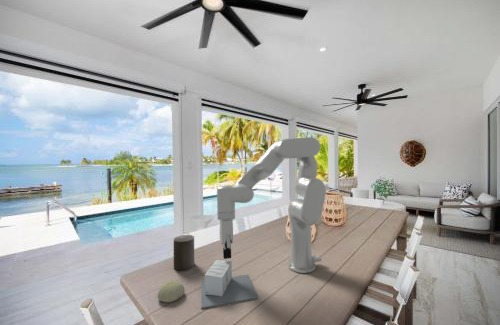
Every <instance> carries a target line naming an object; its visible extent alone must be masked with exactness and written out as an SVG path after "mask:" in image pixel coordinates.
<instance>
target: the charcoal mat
mask: <svg viewBox="0 0 500 325" xmlns="http://www.w3.org/2000/svg"><path fill="white" fill-rule="evenodd" d="M200 284H201V289H200V291H201V292H200V293H201V296H200V297H201V303H200V304H201V310H203V309H205V310H206V309H210V308H215V307H221V306H227V305H232V304H238V303H242V302H247V301H248V302H249V301H254V300H259V296H258V294H257V291H256V290H255V286H254V284H253V282H252V280H251V278H250V276H249V274H243V275H241V274H240V275H235V276H232V279H231V281H230V283H229V285H228V287H227V288H226V290H225V292H224V294H223V296H215V295H207V294H205V280H202V281H201V283H200Z"/></svg>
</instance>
